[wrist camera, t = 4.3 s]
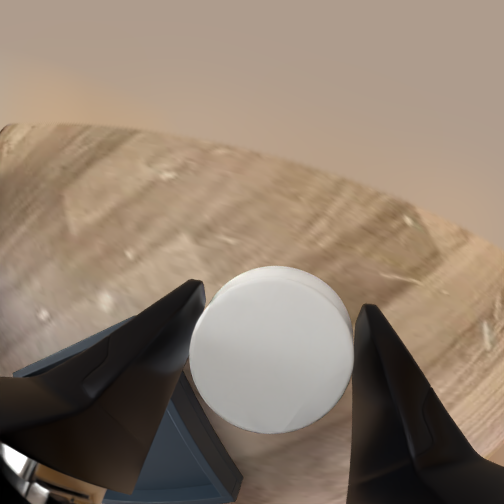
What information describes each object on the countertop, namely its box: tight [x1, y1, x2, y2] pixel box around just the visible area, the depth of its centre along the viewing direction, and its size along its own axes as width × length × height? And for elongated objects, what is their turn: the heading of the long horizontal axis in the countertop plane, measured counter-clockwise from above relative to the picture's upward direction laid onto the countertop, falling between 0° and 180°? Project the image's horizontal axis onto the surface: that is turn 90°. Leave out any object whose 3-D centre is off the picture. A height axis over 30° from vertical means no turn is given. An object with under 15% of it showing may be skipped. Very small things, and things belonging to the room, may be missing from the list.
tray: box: [13, 316, 243, 504], centre depth 13 cm, size 12×15×3 cm
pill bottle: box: [189, 266, 354, 434], centre depth 10 cm, size 5×5×9 cm
